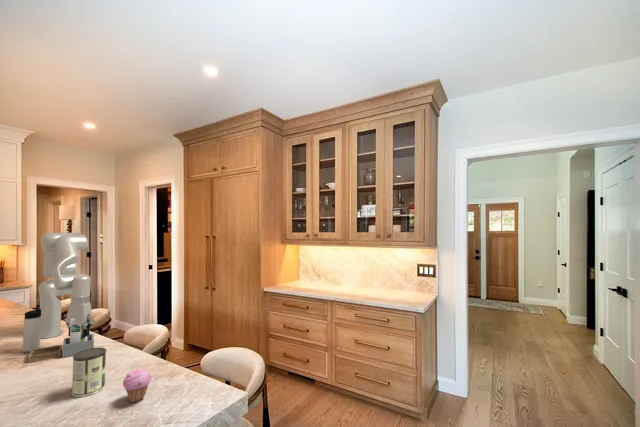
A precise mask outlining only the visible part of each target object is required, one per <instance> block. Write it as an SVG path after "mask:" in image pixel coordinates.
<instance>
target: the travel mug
mask: <svg viewBox="0 0 640 427" xmlns="http://www.w3.org/2000/svg"><path fill="white" fill-rule="evenodd" d="M23 319H24V321H23V334H22V335H23V337H22V339H23V340H22V353H23V354H30V352H31V350H33V349H39V348H40V344H41V339H40V329H41V309H40V308H36V309H35V310H34V309H33V310H29V311H26V312H24V318H23Z"/></svg>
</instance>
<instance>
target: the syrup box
mask: <svg viewBox="0 0 640 427" xmlns="http://www.w3.org/2000/svg"><path fill="white" fill-rule="evenodd" d="M86 326H87V324H86ZM83 329H84V327H83V324H82V325H78V324H75V318H71V326H70V336H69V337H70V344H71V343H77V342H83V341H87V336H86V337H83Z"/></svg>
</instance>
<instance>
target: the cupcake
mask: <svg viewBox="0 0 640 427" xmlns="http://www.w3.org/2000/svg"><path fill="white" fill-rule="evenodd" d="M122 381H123V382H122V387H124V389H125V390H126V394H127V398H128V400H129V402H130V403H136V402H138V401H140V400H143V399H144V397H146V393H147V390H148V386H149V385H150V384H151V381H152V375H151V373H150V371H149V370H147V369H144V368H143V369H142V368H141V369H134V370H132V371H129V372H128V374H126V377H124V379H123V380H122Z"/></svg>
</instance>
